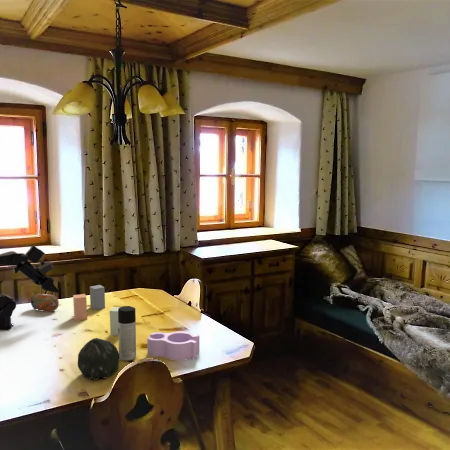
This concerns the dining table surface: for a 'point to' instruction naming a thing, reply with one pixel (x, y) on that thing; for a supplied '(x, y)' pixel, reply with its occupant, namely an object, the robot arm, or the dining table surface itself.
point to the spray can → (127, 333)
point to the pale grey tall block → (114, 321)
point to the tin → (45, 302)
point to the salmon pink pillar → (80, 307)
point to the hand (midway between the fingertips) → (54, 289)
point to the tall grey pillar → (97, 297)
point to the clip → (173, 345)
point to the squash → (98, 359)
